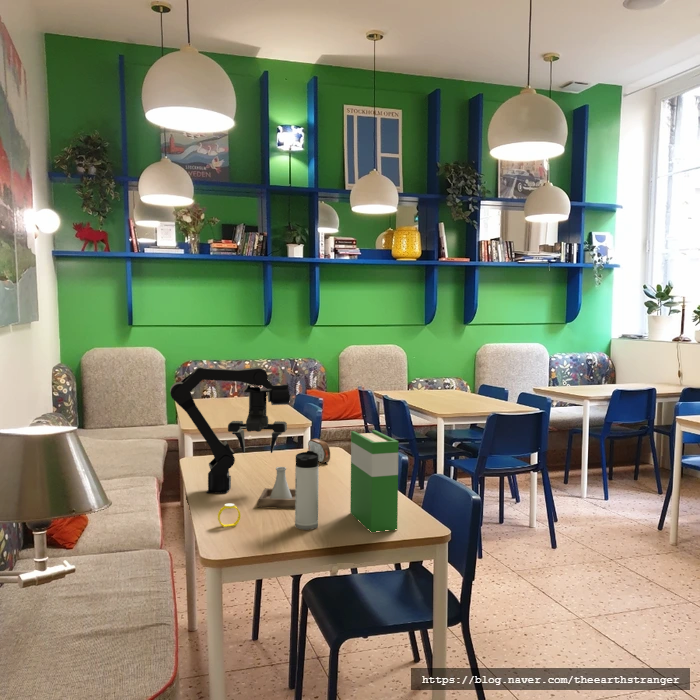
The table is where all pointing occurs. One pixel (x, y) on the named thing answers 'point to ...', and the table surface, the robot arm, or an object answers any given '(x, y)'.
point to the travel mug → (306, 490)
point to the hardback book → (374, 480)
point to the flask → (281, 485)
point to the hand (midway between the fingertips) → (257, 452)
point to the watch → (229, 508)
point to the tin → (320, 449)
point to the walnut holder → (275, 500)
